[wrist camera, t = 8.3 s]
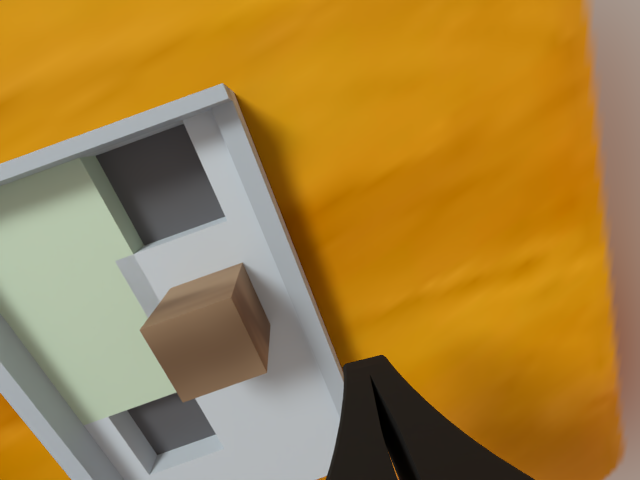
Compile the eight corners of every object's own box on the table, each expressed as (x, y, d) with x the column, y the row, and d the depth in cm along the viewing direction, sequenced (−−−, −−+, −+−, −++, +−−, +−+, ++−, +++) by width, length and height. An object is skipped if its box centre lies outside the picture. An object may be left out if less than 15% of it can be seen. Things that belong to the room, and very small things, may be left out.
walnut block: (270, 325, 19) (266, 373, 15) (203, 348, 19) (182, 402, 15) (242, 262, 18) (230, 297, 14) (170, 288, 18) (139, 330, 14)
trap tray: (368, 438, 24) (380, 480, 21) (158, 512, 24) (141, 564, 21) (233, 91, 17) (222, 83, 14) (-70, 201, 17) (-144, 216, 14)
